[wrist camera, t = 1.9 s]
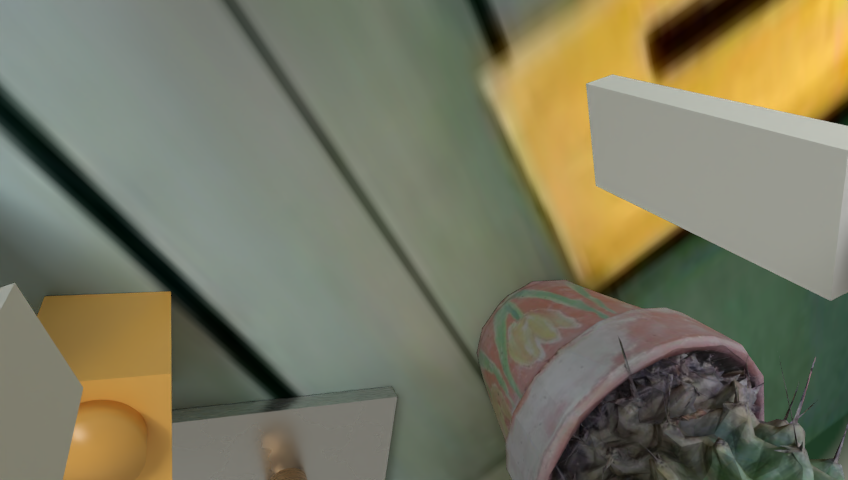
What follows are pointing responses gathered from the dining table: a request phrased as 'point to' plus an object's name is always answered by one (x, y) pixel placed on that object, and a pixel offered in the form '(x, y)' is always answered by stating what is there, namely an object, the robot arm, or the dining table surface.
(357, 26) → the dining table surface
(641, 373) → the potted plant
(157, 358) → the orange knobbed block
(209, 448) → the plate
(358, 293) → the dining table surface
